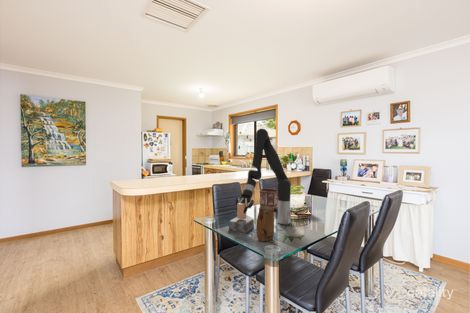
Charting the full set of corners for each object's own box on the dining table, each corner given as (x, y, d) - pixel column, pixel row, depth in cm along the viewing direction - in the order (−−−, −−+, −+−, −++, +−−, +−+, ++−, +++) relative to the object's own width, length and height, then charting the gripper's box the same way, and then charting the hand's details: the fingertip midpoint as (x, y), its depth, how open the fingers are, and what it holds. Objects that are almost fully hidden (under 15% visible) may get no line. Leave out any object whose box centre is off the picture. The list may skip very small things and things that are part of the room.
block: (265, 235, 148) (266, 204, 147) (275, 239, 142) (275, 207, 141) (254, 239, 140) (255, 207, 140) (263, 243, 135) (264, 210, 134)
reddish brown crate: (266, 212, 199) (266, 192, 199) (255, 207, 215) (256, 189, 215) (282, 211, 207) (283, 191, 206) (271, 206, 223) (272, 188, 222)
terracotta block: (246, 217, 160) (246, 203, 160) (243, 219, 156) (243, 204, 156) (239, 216, 163) (240, 202, 162) (237, 218, 159) (237, 203, 158)
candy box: (310, 213, 201) (310, 194, 201) (311, 215, 195) (312, 196, 195) (294, 212, 202) (294, 194, 202) (295, 214, 197) (295, 195, 196)
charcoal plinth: (253, 227, 162) (253, 218, 162) (246, 233, 151) (246, 224, 151) (237, 224, 169) (237, 216, 168) (228, 229, 157) (229, 220, 157)
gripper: (237, 187, 169) (229, 207, 159) (255, 189, 162) (248, 210, 152) (241, 193, 174) (233, 213, 163) (258, 195, 167) (251, 216, 157)
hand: (240, 211), depth 158 cm, fingers closed on terracotta block, 5 cm apart
